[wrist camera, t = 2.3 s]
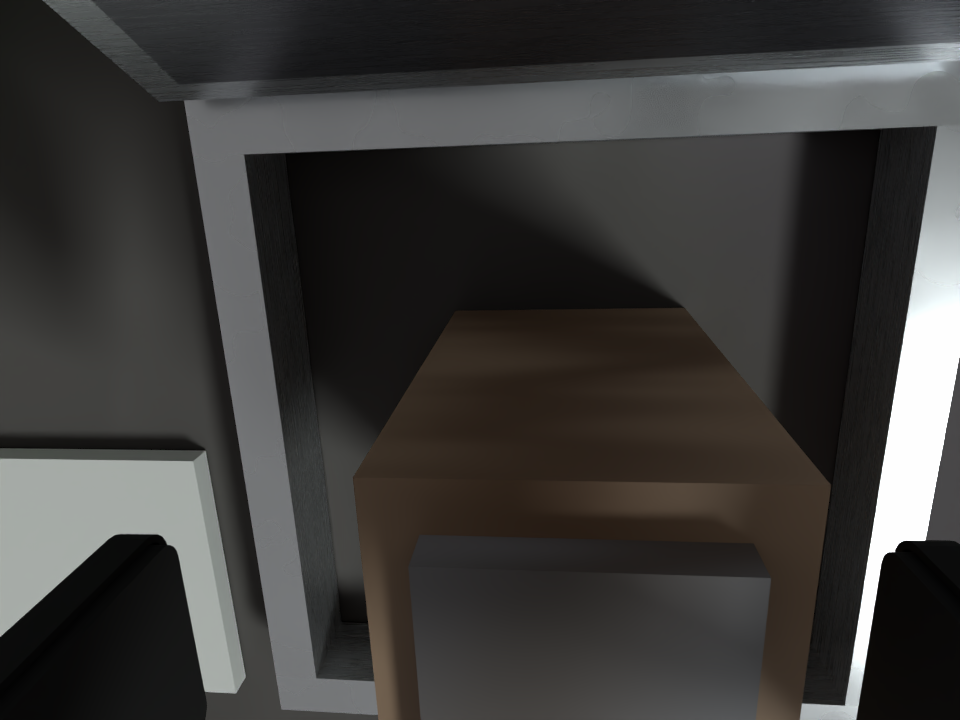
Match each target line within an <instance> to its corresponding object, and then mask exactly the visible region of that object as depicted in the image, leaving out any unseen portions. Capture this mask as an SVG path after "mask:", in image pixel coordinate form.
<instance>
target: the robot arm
mask: <svg viewBox="0 0 960 720" xmlns="http://www.w3.org/2000/svg"><path fill="white" fill-rule="evenodd" d="M206 710H207V702H206V696H205V690H204V685H203V680H202V675H201V670H200V665H199V660H198V654H197V649H196V644H195V639H194V634H193V629H192V623H191V618H190V613H189V608H188V603H187V598H186V592H185V587H184V582H183V577H182V572H181V567H180V561H179V556H178V553H177V550H176V549H175V548H174V547H173V546H171V545H167V543H166V541H165V539H164V538H163V537H162V536H160V535H158V534H117V535H114V536H113V537H111V538H109V539H108V540H107V541H106V542H105V543H104V544H103V545H102V546H100V547H99V548H98V549H97V550H96V551H95V552H94V553H93V554H92V555H90V556H89V557H88V558H87V559H86V560H85V561H84V562H83V563H82V564H81V565H79V566H78V567H77V568H76V569H75V570H74V571H73V572H72V573H71V574H69V575H68V576H67V577H66V578H65V579H64V580H63V581H62V582H61V583H59V584H58V585H57V586H56V587H55V588H54V589H53V590H52V591H51V592H49V593H48V594H47V595H46V596H45V597H44V598H43V599H42V600H41V601H39V602H38V603H37V604H36V605H35V606H34V607H33V608H32V609H31V610H29V611H28V612H27V613H26V614H25V615H24V616H23V617H22V618H21V619H20V620H18V621H17V622H16V623H15V624H14V625H13V626H12V627H11V628H10V629H8V630H7V631H6V632H5V633H4V634H3V635H2V636H1V637H0V720H205V717H206ZM856 720H960V544H958V543H957V542H955V541H940V540H904V541H902V542H900V543H899V544H898V545H897V547H896V549H895V552H888V553H886V554H885V555H884V557H883V559H882V562H881V568H880V574H879V580H878V586H877V593H876V599H875V605H874V612H873V618H872V624H871V630H870V637H869V643H868V649H867V655H866V662H865V668H864V674H863V680H862V687H861V693H860V699H859V706H858V712H857V718H856Z"/></svg>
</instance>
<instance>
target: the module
mask: <svg viewBox="0 0 960 720" xmlns="http://www.w3.org/2000/svg"><path fill="white" fill-rule="evenodd" d="M353 484H354V493H355V502H356V512H357V521H358V531H359V540H360V550H361V559H362V569H363V578H364V587H365V597H366V606H367V616H368V625H369V635H370V644H371V654H372V663H373V672H374V682H375V691H376V701H377V710H378V720H800V714H801V707H802V699H803V692H804V685H805V677H806V670H807V662H808V655H809V647H810V640H811V632H812V625H813V617H814V610H815V602H816V595H817V587H818V580H819V573H820V565H821V558H822V550H823V543H824V535H825V528H826V520H827V513H828V505H829V498H830V490H831V484H830V483H829V482H828V481H827V480H826V478H825V477H824V476H823V475H822V474H821V472H820V471H819V470H818V469H817V468H816V466H815V465H814V464H813V463H812V461H811V460H810V459H809V458H808V457H807V455H806V454H805V453H804V452H803V451H802V449H801V448H800V447H799V446H798V445H797V443H796V442H795V441H794V440H793V438H792V437H791V436H790V435H789V434H788V432H787V431H786V430H785V429H784V428H783V426H782V425H781V424H780V423H779V422H778V420H777V419H776V418H775V417H774V416H773V414H772V413H771V412H770V411H769V409H768V408H767V407H766V406H765V405H764V403H763V402H762V401H761V400H760V399H759V397H758V396H757V395H756V394H755V393H754V391H753V390H752V389H751V388H750V387H749V385H748V384H747V383H746V382H745V380H744V379H743V378H742V377H741V376H740V374H739V373H738V372H737V371H736V370H735V368H734V367H733V366H732V365H731V364H730V362H729V361H728V360H727V359H726V357H725V356H724V355H723V354H722V353H721V351H720V350H719V349H718V348H717V347H716V345H715V344H714V343H713V342H712V341H711V339H710V338H709V337H708V336H707V335H706V333H705V332H704V331H703V330H702V328H701V327H700V326H699V325H698V324H697V322H696V321H695V320H694V319H693V318H692V316H691V315H690V314H689V313H688V312H687V310H686V309H685V308H630V309H553V310H476V311H455V312H454V314H453V316H452V317H451V319H450V321H449V322H448V324H447V325H446V327H445V329H444V330H443V332H442V334H441V335H440V337H439V338H438V340H437V342H436V343H435V345H434V347H433V348H432V350H431V351H430V353H429V355H428V356H427V358H426V360H425V361H424V363H423V364H422V366H421V368H420V369H419V371H418V373H417V374H416V376H415V377H414V379H413V381H412V382H411V384H410V386H409V387H408V389H407V390H406V392H405V394H404V395H403V397H402V399H401V400H400V402H399V403H398V405H397V407H396V408H395V410H394V412H393V413H392V415H391V416H390V418H389V420H388V421H387V423H386V425H385V426H384V428H383V429H382V431H381V433H380V434H379V436H378V438H377V439H376V441H375V442H374V444H373V446H372V447H371V449H370V451H369V452H368V454H367V455H366V457H365V459H364V460H363V462H362V464H361V465H360V467H359V468H358V470H357V472H356V473H355V475H354V477H353Z"/></svg>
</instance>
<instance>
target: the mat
mask: <svg viewBox="0 0 960 720" xmlns="http://www.w3.org/2000/svg"><path fill="white" fill-rule="evenodd" d="M117 534H158V535H160V536H162V537H163V538H164V539H165V541H166V543H167V545H171V546H173V547H174V548H175V549H176V550H177V553H178V556H179V561H180V567H181V572H182V577H183V582H184V587H185V592H186V598H187V603H188V608H189V613H190V618H191V623H192V629H193V634H194V639H195V644H196V649H197V654H198V660H199V665H200V670H201V675H202V680H203V685H204V690H205V692H220V693H237V691H238V689H239V687H240V686H241V684H242V682H243V681H244V679H245V677H246V676H245V670H244V664H243V659H242V653H241V647H240V642H239V636H238V631H237V625H236V619H235V614H234V608H233V602H232V597H231V591H230V585H229V580H228V574H227V568H226V563H225V557H224V552H223V546H222V540H221V535H220V529H219V523H218V518H217V512H216V506H215V501H214V495H213V489H212V484H211V478H210V473H209V467H208V461H207V456H206V451H194V450H110V449H25V448H0V637H1V636H2V635H3V634H4V633H5V632H6V631H7V630H8V629H10V628H11V627H12V626H13V625H14V624H15V623H16V622H17V621H18V620H20V619H21V618H22V617H23V616H24V615H25V614H26V613H27V612H28V611H29V610H31V609H32V608H33V607H34V606H35V605H36V604H37V603H38V602H39V601H41V600H42V599H43V598H44V597H45V596H46V595H47V594H48V593H49V592H51V591H52V590H53V589H54V588H55V587H56V586H57V585H58V584H59V583H61V582H62V581H63V580H64V579H65V578H66V577H67V576H68V575H69V574H71V573H72V572H73V571H74V570H75V569H76V568H77V567H78V566H79V565H81V564H82V563H83V562H84V561H85V560H86V559H87V558H88V557H89V556H90V555H92V554H93V553H94V552H95V551H96V550H97V549H98V548H99V547H100V546H102V545H103V544H104V543H105V542H106V541H107V540H108V539H109V538H111V537H113V536H114V535H117Z"/></svg>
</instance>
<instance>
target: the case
mask: <svg viewBox="0 0 960 720" xmlns="http://www.w3.org/2000/svg"><path fill="white" fill-rule="evenodd" d="M43 1H44V2H45V3H46V4H47V5H49V6H50V7H51V8H52V9H53V10H54V11H55V12H57V13H58V14H59V15H60V16H61V17H62V18H63V19H65V20H66V21H67V22H68V23H69V24H70V25H71V26H73V27H74V28H75V29H76V30H77V31H78V32H79V33H81V34H82V35H83V36H84V37H85V38H86V39H88V40H89V41H90V42H91V43H92V44H93V45H94V46H96V47H97V48H98V49H99V50H100V51H101V52H102V53H104V54H105V55H106V56H107V57H108V58H109V59H110V60H112V61H113V62H114V63H115V64H116V65H117V66H118V67H120V68H121V69H122V70H123V71H124V72H125V73H127V74H128V75H129V76H130V77H131V78H132V79H133V80H135V81H136V82H137V83H138V84H139V85H140V86H141V87H143V88H144V89H145V90H146V91H147V92H148V93H149V94H151V95H152V96H153V97H154V98H155V99H156V100H157V101H159V102H166V101H184V104H185V110H186V116H187V122H188V129H189V135H190V141H191V147H192V154H193V160H194V166H195V172H196V179H197V185H198V191H199V197H200V204H201V210H202V216H203V222H204V229H205V235H206V241H207V247H208V253H209V260H210V266H211V272H212V278H213V285H214V291H215V297H216V303H217V310H218V316H219V322H220V328H221V335H222V341H223V347H224V353H225V360H226V366H227V372H228V378H229V385H230V391H231V397H232V403H233V410H234V416H235V422H236V428H237V434H238V441H239V447H240V453H241V459H242V466H243V472H244V478H245V484H246V491H247V497H248V503H249V509H250V516H251V522H252V528H253V534H254V541H255V547H256V553H257V559H258V566H259V572H260V578H261V584H262V591H263V597H264V603H265V609H266V615H267V622H268V628H269V634H270V640H271V647H272V653H273V659H274V665H275V672H276V678H277V684H278V690H279V697H280V703H281V709H284V710H302V711H319V712H336V713H354V714H371V715H378V710H377V701H376V691H375V682H374V672H373V663H372V654H371V644H370V635H369V625H368V623H354V622H342V621H341V612H340V604H339V596H338V587H337V579H336V571H335V562H334V554H333V546H332V537H331V529H330V521H329V512H328V504H327V496H326V487H325V479H324V471H323V462H322V454H321V446H320V437H319V429H318V421H317V412H316V404H315V396H314V387H313V379H312V371H311V363H310V354H309V346H308V338H307V329H306V321H305V313H304V304H303V296H302V288H301V279H300V271H299V263H298V254H297V246H296V238H295V229H294V221H293V213H292V204H291V196H290V188H289V179H288V171H287V163H286V154H292V153H317V152H341V151H365V150H390V149H414V148H439V147H463V146H488V145H512V144H537V143H561V142H586V141H610V140H635V139H659V138H684V137H708V136H733V135H757V134H782V133H806V132H831V131H855V130H880V129H881V130H880V138H879V145H878V153H877V160H876V167H875V175H874V182H873V190H872V197H871V204H870V212H869V219H868V227H867V234H866V241H865V249H864V256H863V263H862V271H861V278H860V286H859V293H858V300H857V308H856V315H855V323H854V330H853V337H852V345H851V352H850V359H849V367H848V374H847V382H846V389H845V396H844V404H843V411H842V419H841V426H840V433H839V441H838V448H837V455H836V463H835V470H834V478H833V485H832V492H831V500H830V507H829V515H828V522H827V529H826V537H825V544H824V552H823V559H822V566H821V574H820V581H819V588H818V596H817V603H816V611H815V618H814V625H813V633H812V640H811V641H810V647H809V655H808V662H807V670H806V677H805V685H804V692H803V699H802V707H801V714H800V720H856V718H857V712H858V706H859V699H860V693H861V687H862V680H863V674H864V668H865V662H866V655H867V649H868V643H869V637H870V630H871V624H872V618H873V612H874V605H875V599H876V593H877V586H878V580H879V574H880V568H881V562H882V559H883V557H884V555H885V554H886V553H888V552H895V549H896V547H897V545H898V544H899V543H900V542H902V541H904V540H925V537H926V532H927V527H928V521H929V516H930V511H931V505H932V500H933V495H934V489H935V484H936V478H937V473H938V468H939V462H940V457H941V452H942V446H943V441H944V436H945V430H946V425H947V420H948V414H949V409H950V404H951V398H952V393H953V388H954V382H955V377H956V372H957V366H958V361H959V356H960V0H43Z"/></svg>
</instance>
